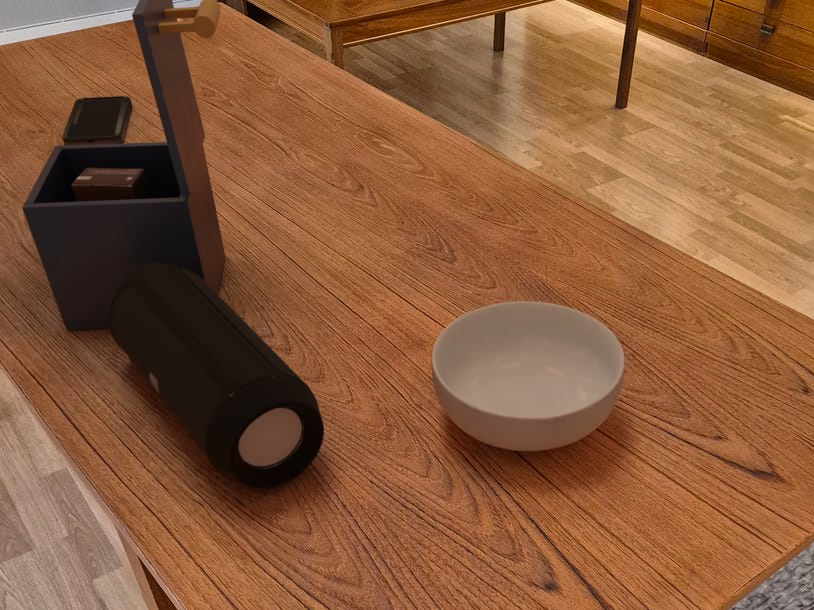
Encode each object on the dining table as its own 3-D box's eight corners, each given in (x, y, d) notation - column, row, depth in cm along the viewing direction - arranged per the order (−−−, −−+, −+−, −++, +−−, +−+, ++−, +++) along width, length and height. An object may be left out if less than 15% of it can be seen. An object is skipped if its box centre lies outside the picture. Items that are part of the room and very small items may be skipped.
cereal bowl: (446, 355, 87) (445, 293, 83) (615, 368, 86) (625, 306, 81) (418, 471, 75) (415, 406, 70) (615, 489, 74) (626, 424, 69)
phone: (131, 95, 132) (120, 136, 121) (133, 103, 133) (122, 144, 122) (75, 98, 131) (59, 139, 120) (77, 106, 132) (62, 147, 121)
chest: (66, 331, 89) (21, 207, 80) (92, 262, 99) (55, 145, 90) (214, 323, 91) (187, 200, 82) (225, 256, 101) (202, 140, 92)
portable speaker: (115, 363, 86) (85, 271, 79) (211, 330, 90) (191, 240, 83) (231, 517, 71) (207, 421, 64) (339, 468, 75) (327, 373, 69)
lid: (131, 14, 71) (202, 9, 71) (155, -32, 81) (217, -36, 81) (181, 196, 81) (243, 191, 82) (197, 136, 91) (252, 132, 92)
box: (172, 274, 96) (145, 166, 88) (160, 296, 93) (131, 187, 85) (117, 272, 96) (85, 164, 88) (103, 294, 93) (68, 185, 85)
